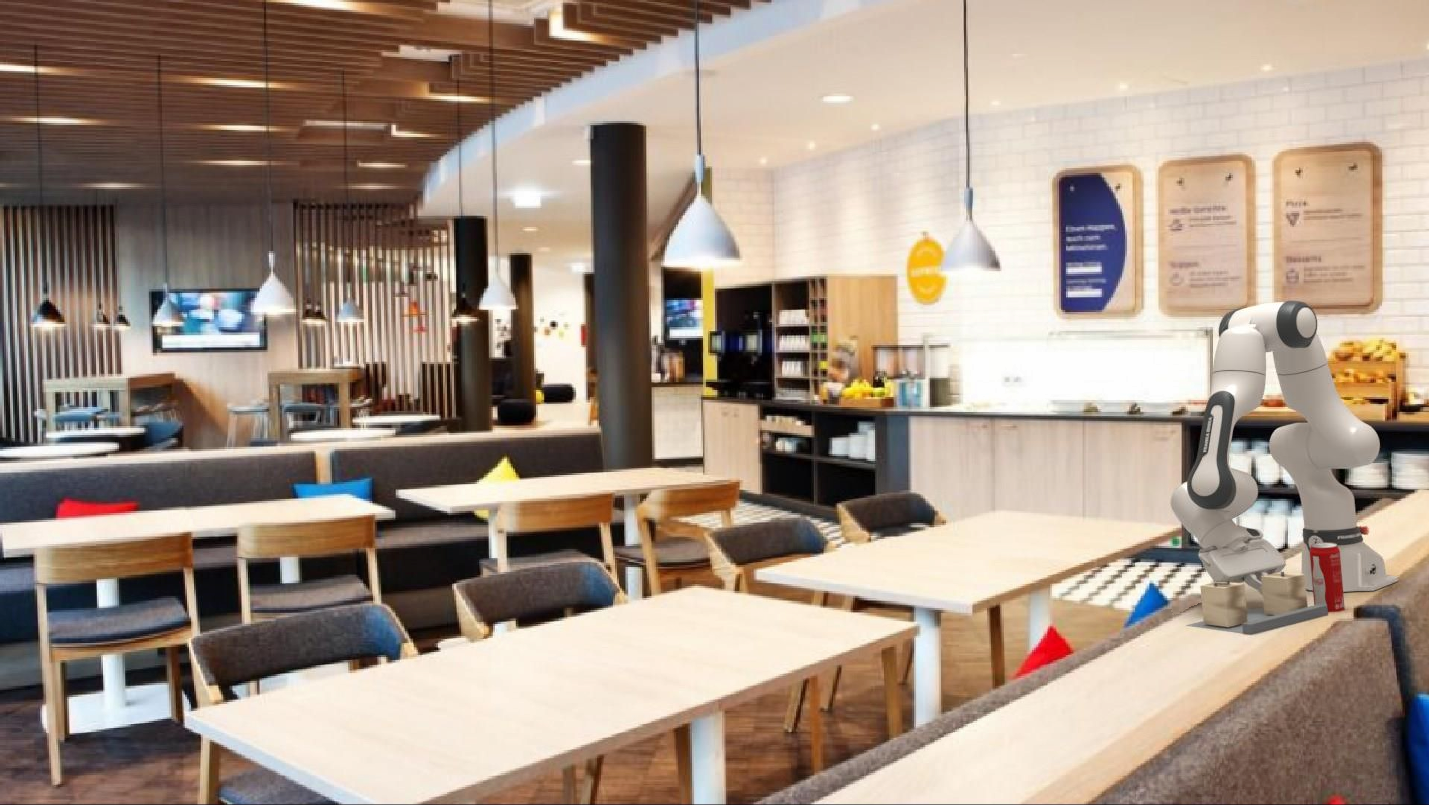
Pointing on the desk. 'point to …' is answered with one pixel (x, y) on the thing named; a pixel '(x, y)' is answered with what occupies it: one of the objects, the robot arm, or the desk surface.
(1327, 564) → the beverage can
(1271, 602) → the wooden number block 1
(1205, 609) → the wooden digit block 2
